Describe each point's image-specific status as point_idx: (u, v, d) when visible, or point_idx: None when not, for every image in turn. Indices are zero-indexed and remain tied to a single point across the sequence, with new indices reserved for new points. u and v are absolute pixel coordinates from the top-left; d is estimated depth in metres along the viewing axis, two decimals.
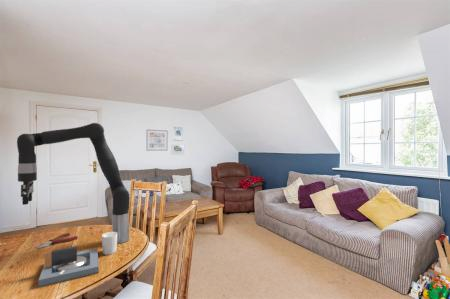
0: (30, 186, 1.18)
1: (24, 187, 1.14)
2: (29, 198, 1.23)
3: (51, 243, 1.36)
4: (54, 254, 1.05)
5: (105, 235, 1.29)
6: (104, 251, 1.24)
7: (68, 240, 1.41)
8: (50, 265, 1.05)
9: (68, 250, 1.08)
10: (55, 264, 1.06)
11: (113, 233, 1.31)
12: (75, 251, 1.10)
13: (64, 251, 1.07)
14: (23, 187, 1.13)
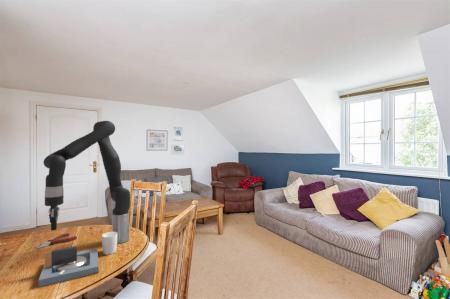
0: (57, 211, 1.13)
1: (52, 216, 1.09)
2: None
3: (50, 243, 1.36)
4: (54, 254, 1.05)
5: (105, 235, 1.29)
6: (104, 251, 1.24)
7: (67, 240, 1.40)
8: (50, 265, 1.05)
9: (68, 250, 1.08)
10: (55, 264, 1.06)
11: (113, 233, 1.31)
12: (75, 251, 1.10)
13: (64, 251, 1.07)
14: (51, 217, 1.09)
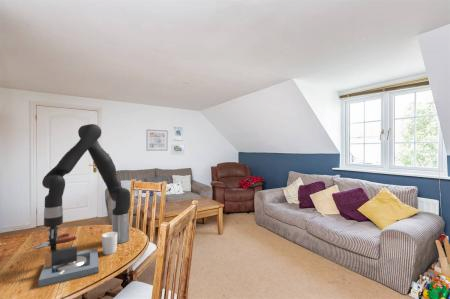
0: (57, 232, 1.12)
1: (52, 238, 1.08)
2: None
3: (49, 243, 1.36)
4: (54, 254, 1.05)
5: (105, 235, 1.29)
6: (104, 251, 1.24)
7: (66, 240, 1.40)
8: (50, 265, 1.05)
9: (68, 250, 1.08)
10: (55, 264, 1.06)
11: (113, 233, 1.31)
12: (75, 251, 1.10)
13: (64, 251, 1.07)
14: (51, 238, 1.08)
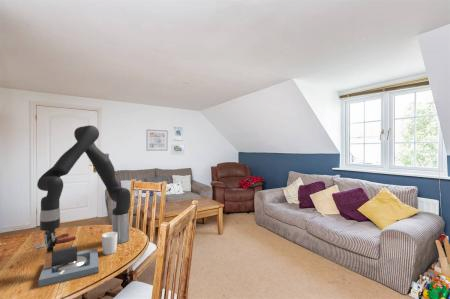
0: (55, 235, 1.08)
1: (53, 241, 1.04)
2: None
3: None
4: (54, 254, 1.05)
5: (105, 235, 1.29)
6: (104, 251, 1.24)
7: (66, 240, 1.40)
8: (50, 266, 1.04)
9: (69, 250, 1.08)
10: (55, 265, 1.05)
11: (113, 233, 1.31)
12: (75, 251, 1.10)
13: (64, 251, 1.07)
14: (52, 241, 1.04)
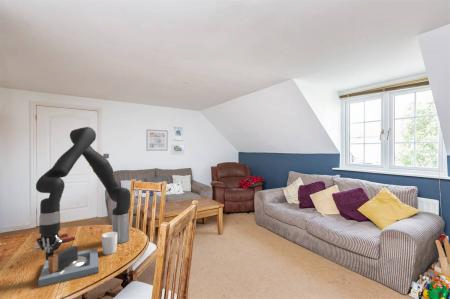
0: None
1: (59, 243, 1.02)
2: None
3: None
4: (60, 256, 1.03)
5: (105, 235, 1.29)
6: (104, 251, 1.24)
7: (65, 241, 1.39)
8: (57, 269, 1.02)
9: (71, 250, 1.08)
10: (61, 267, 1.04)
11: (113, 233, 1.31)
12: (76, 250, 1.11)
13: (68, 252, 1.07)
14: (59, 244, 1.01)
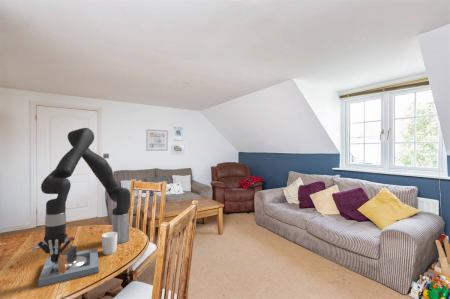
0: None
1: (69, 242, 1.03)
2: None
3: (47, 244, 1.35)
4: (68, 256, 1.04)
5: (105, 235, 1.29)
6: (104, 251, 1.24)
7: (64, 241, 1.39)
8: (66, 268, 1.02)
9: (73, 249, 1.09)
10: (68, 266, 1.04)
11: (113, 233, 1.31)
12: (76, 249, 1.12)
13: (71, 251, 1.07)
14: None
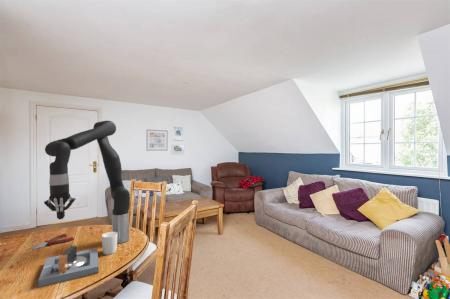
0: None
1: (73, 201, 1.12)
2: None
3: (46, 244, 1.34)
4: (68, 256, 1.04)
5: (105, 235, 1.29)
6: (104, 251, 1.24)
7: (64, 241, 1.39)
8: (66, 268, 1.02)
9: (73, 249, 1.09)
10: (68, 266, 1.04)
11: (113, 233, 1.31)
12: (76, 249, 1.12)
13: (72, 251, 1.07)
14: (73, 201, 1.11)
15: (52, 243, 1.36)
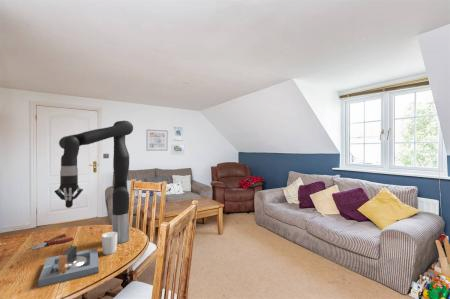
0: None
1: None
2: None
3: (46, 244, 1.34)
4: (68, 256, 1.04)
5: (105, 235, 1.29)
6: (104, 251, 1.24)
7: (63, 241, 1.38)
8: (66, 268, 1.02)
9: (73, 249, 1.09)
10: (68, 266, 1.04)
11: (113, 233, 1.31)
12: (76, 249, 1.12)
13: (72, 251, 1.07)
14: (80, 192, 1.20)
15: (51, 243, 1.36)
